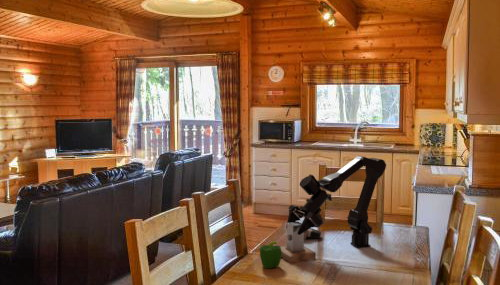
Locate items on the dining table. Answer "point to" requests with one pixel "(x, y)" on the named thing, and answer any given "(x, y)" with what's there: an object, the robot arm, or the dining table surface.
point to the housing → (294, 238)
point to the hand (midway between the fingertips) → (292, 231)
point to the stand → (297, 255)
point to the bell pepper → (270, 255)
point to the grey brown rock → (312, 233)
